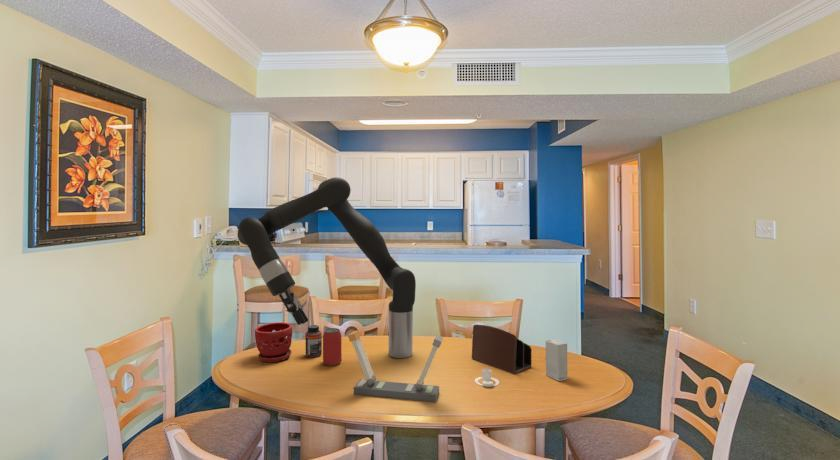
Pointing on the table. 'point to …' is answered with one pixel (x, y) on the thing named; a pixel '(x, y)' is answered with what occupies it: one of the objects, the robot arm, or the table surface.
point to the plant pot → (273, 341)
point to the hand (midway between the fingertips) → (303, 322)
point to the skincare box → (556, 359)
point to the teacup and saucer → (486, 378)
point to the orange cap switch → (362, 357)
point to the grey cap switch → (429, 362)
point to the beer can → (332, 346)
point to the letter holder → (500, 349)
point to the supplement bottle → (313, 341)
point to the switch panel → (397, 390)
